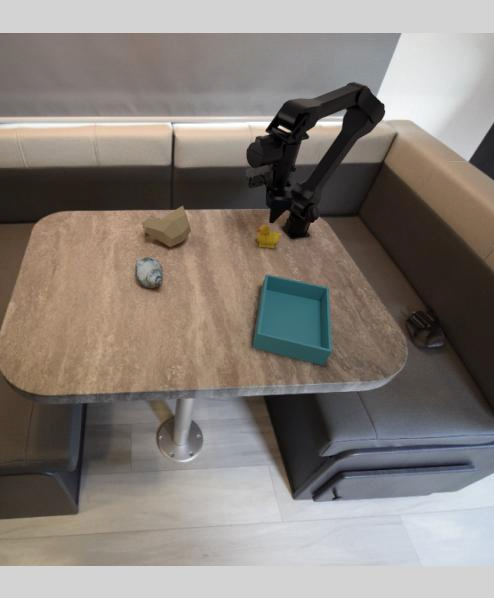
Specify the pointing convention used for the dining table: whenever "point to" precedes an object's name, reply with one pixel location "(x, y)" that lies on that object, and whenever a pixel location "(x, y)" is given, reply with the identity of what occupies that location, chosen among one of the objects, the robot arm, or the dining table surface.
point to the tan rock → (168, 227)
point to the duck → (267, 237)
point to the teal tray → (294, 320)
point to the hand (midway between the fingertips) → (269, 213)
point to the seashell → (148, 272)
